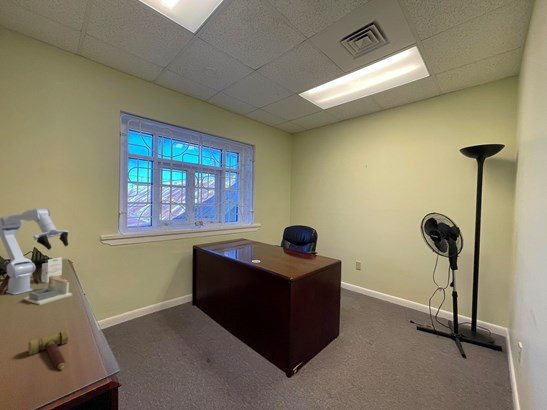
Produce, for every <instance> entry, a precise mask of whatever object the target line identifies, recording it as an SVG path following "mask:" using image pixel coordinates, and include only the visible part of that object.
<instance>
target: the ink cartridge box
mask: <svg viewBox="0 0 547 410" xmlns="http://www.w3.org/2000/svg"><path fill="white" fill-rule="evenodd" d="M41 265H42V266H41V283H48V284H49V277H52V276H58V278H62V277H63V275H62V273H63V272H62V271H63V257H60V256H59V257H55V258H51V259H50V258H49V259H47V262H45V263H42V264H41Z"/></svg>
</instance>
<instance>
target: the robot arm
mask: <svg viewBox="0 0 547 410" xmlns="http://www.w3.org/2000/svg"><path fill="white" fill-rule="evenodd" d="M24 221H25V222H30V221H34V222H35V223H37V226H38V227H39V229H40V231H41V233H38V234H34V235H33V237H32V238H33V240H34V241H35V240H36V242H37V244H40V245H42V246H44V247H45V248H46V249H47V250H48V251H49V250H51V249H52V245H51V244H50V243H51V242H49V238H53V237H57V236H59V238H58V240H60V241H61V242H62V243H63V244H62V245H64V247H68V245H69V241H68V234H69V231H68V230H66V229H65V230H63V229H62V230H60V229H57V227H56V226H55V223H54V222H53V220H52V218H51V212H50V210H49V209H48V208H33V209H27V210H26V211H24V212H22V213H20V214H12V215H6V216H1V217H0V240H1V242H2V244H3V247H4V248H5V250H6V254H7V255H8V258H9V260H10V262H9V263H8V264H7V265H6V266H5V268H6V274H7V276H8V277H10V278H9V279H8V284H7V285H8V290H5V292H6V293H8V294H11V295H19V294H24V293H27V292H28V293H29V292H33V291H34V289H33V288H31V276H32V275H33V273H34V272H35V270H36V265H35V263H34V262H33V261H32V259H29V258H27V257H25V256H24V254H23V252H22V250H21V248H20V245H19V243H18V241H17V239H16V237H15V235H16V234H17V233H18V232H19V231H20V229H21V227H22V226H23V223H24ZM18 234H19V233H18Z"/></svg>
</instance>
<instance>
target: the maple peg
mask: <svg viewBox="0 0 547 410" xmlns="http://www.w3.org/2000/svg"><path fill="white" fill-rule="evenodd" d="M56 277H58V276H52V277H49V283H48V286H47V288H50V289H53V290H54V288H55V281H52V278H56Z"/></svg>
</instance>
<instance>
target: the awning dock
mask: <svg viewBox="0 0 547 410" xmlns="http://www.w3.org/2000/svg"><path fill="white" fill-rule="evenodd" d="M52 281H55V288H54V290H53V289H50V288H48V287H47V288H43V289H40V290H36V291H35V290H34V291H30V292H28V293H29V294H28V295H29V296H26V297H23V300H25V301H27V302H30V303H33V304H36V305H38V306H40V305H44V304H48V303H51V302H54V301H58V300H62V299H65V298H68V297H72V296H73V293H71V292H69V289H70V280H69V279H65V278H62V277H61V278H58V277H56V278H52Z"/></svg>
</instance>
